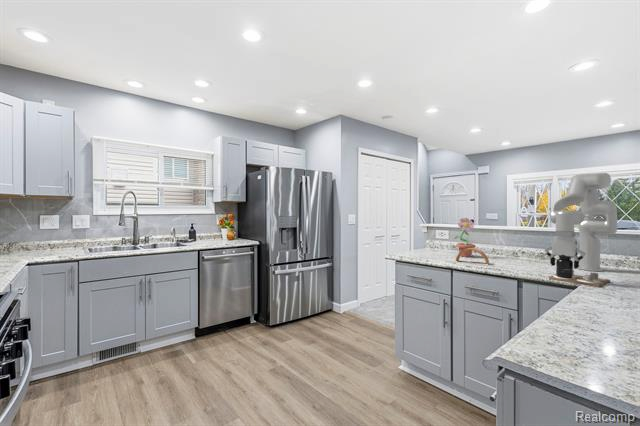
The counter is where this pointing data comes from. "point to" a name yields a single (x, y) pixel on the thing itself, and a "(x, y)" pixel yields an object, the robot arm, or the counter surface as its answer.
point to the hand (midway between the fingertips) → (564, 266)
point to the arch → (476, 251)
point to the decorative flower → (465, 225)
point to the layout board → (583, 279)
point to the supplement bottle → (564, 267)
